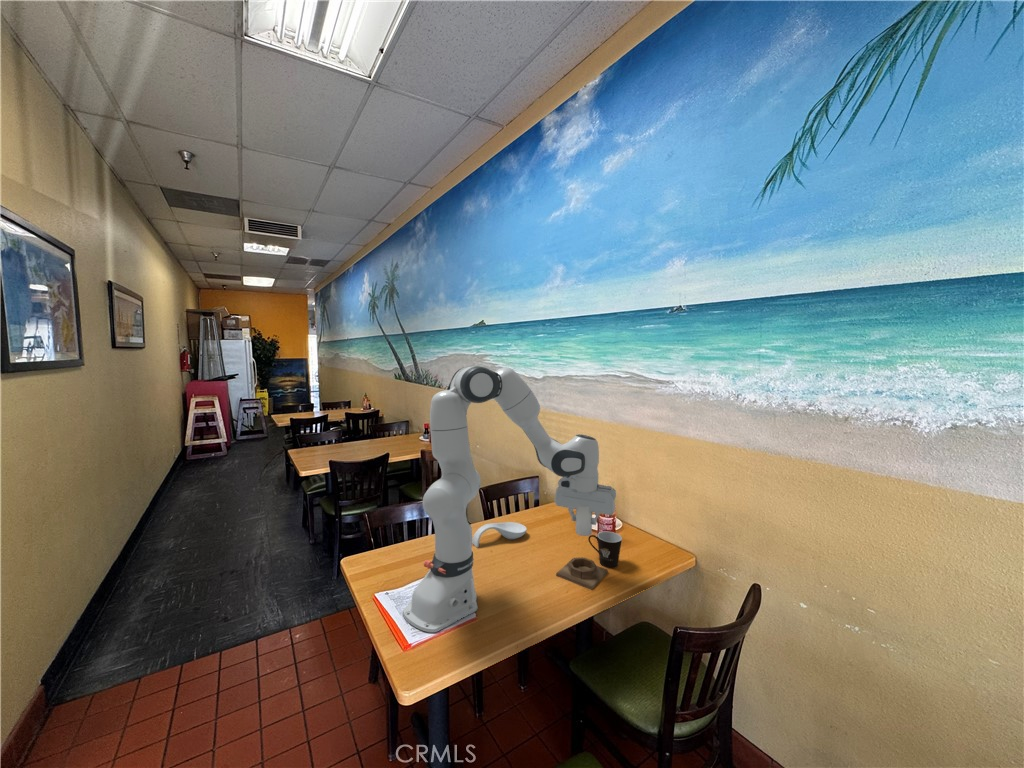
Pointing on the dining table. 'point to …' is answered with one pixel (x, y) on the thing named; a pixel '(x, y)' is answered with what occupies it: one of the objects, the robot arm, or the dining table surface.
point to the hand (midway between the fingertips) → (583, 522)
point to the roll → (583, 521)
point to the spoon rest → (501, 531)
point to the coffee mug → (608, 548)
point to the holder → (582, 572)
